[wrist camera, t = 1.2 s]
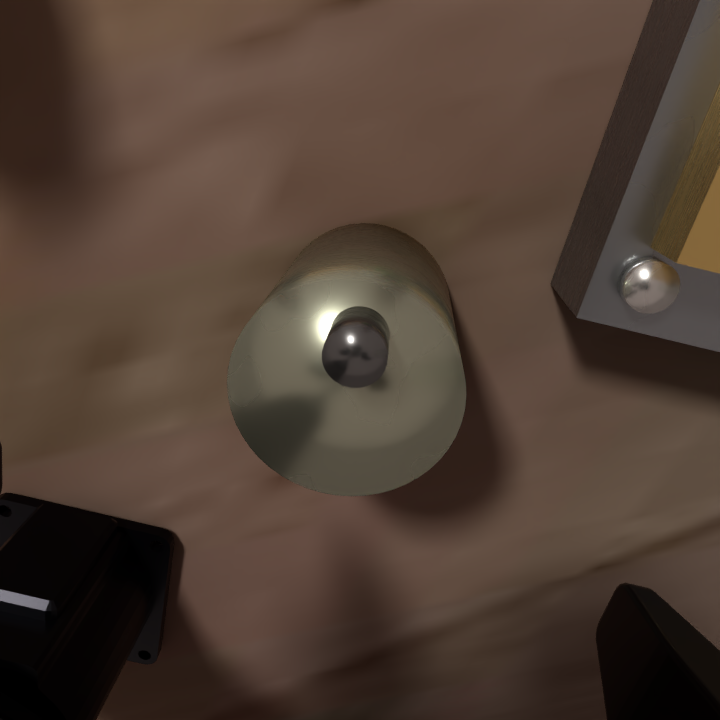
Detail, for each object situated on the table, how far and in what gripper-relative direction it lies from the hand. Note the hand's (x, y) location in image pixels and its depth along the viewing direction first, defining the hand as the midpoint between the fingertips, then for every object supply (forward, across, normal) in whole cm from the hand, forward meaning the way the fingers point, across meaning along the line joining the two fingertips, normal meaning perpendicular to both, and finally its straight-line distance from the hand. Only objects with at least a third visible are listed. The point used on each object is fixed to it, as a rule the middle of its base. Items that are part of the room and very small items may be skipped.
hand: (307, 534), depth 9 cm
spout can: (+10, 0, 0) cm, 10 cm away
